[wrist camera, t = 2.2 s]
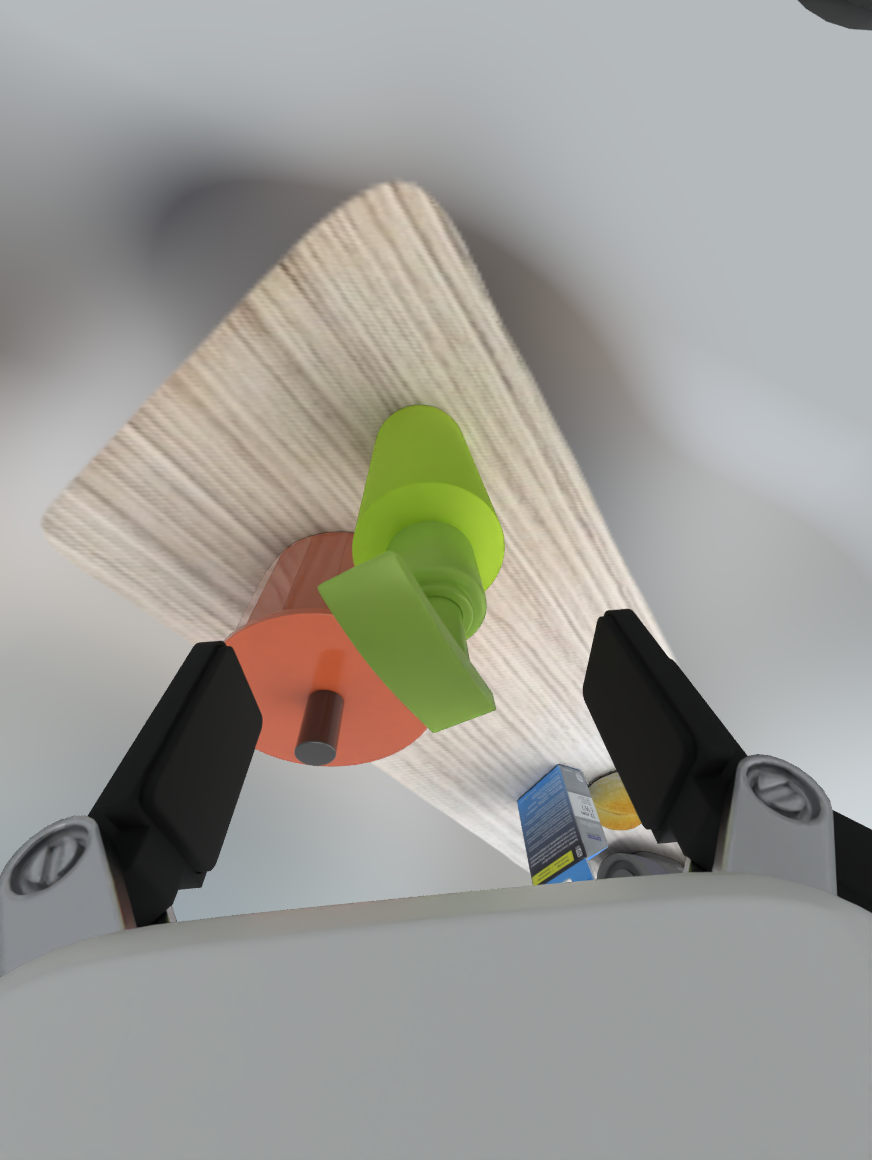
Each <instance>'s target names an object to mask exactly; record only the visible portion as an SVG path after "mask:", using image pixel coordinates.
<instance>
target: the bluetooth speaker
mask: <svg viewBox="0 0 872 1160" xmlns="http://www.w3.org/2000/svg"><path fill="white" fill-rule="evenodd" d="M683 870H684V867H682V866H681V864H680V863H679V862H677V861H675V860H672V859H670V858H666V857H663V856H660V855H657V854H653V853H649V852H637V853H635V854H633V855H632V854H625V853H615V854H612V855H610V856H608V857H607V858H606V859H605V860H604V861H603V862H602V863H601V865H600V867H599V870H598V874H597V880H598V879H608V878H621V877H634V876H648V875H662V874H675V873H683Z"/></svg>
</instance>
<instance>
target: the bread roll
mask: <svg viewBox="0 0 872 1160" xmlns="http://www.w3.org/2000/svg"><path fill="white" fill-rule="evenodd" d="M589 792H590V795H591V798H592V800H593V803H594V806H595V809H596V812H597V815H598V817H599V820H600V823H601V825H602V826H604V827H606V828H608V829H611V830H629V829H633V828H635V827H637V826H639V825H640V824H641V821H640V819H639V817H638V815H637V813H636V811H635V809H634V807H633V804H632V802H631V800H630V798H629V796H628V794H627V791H626V789H625V787H624V785H623V783H622V781H621V778H620V776H619V774H618V772H615V773H612V774H610V775H607V776H605V777H603V778H600V779H598V780H597V781H595V782H594V783H593V784H592V785H591V786H590V788H589Z"/></svg>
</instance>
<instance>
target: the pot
mask: <svg viewBox="0 0 872 1160" xmlns="http://www.w3.org/2000/svg"><path fill="white" fill-rule="evenodd" d="M353 537H354V533H349V532H328V533H320V534H316V535H312V536H309V537H306V538H304V539H301V540H299V541H297V542H295V543H294V544H292V545H290V546H289V547H288V548H286V549H285V550H284V551H282V552H281V553H280V555H279V556H278V557H277V558H276V559H275V560H274V562H273V563H272V565H271V566H270V568H269V569H268V570H267V571H266V573H265V575H264V576H263V578H262V580H261V582H260V584H259V586H258V588H257V590H256V592H255V594H254V595H253V597H252V599H251V601H250V603H249V605H248V607H247V609H246V611H245V612H244V614H243V616H242V618H241V620H240V622H239V624H238V626H237V628H236V630H237V629H238V628H239V627H241V626H243V625H245V624H246V623H248V622H250V621H252V620H254V619H257V618H259V617H262V616H265V615H267V614H271V613H275V612H279V611H283V610H290V609H298V608H328V606H327V605H326V603H325V601H324V600H323V598H322V596H321V595H320V593H319V591H318V586H319V585H320V584H322V583H324V582H325V581H327V580H329V579H331V578H333V577H335V576H337V575H339V574H341V573H343V572H345V571H347V570H349V569H351V568H353V567H355V566H354V562H353V555H352V543H353Z"/></svg>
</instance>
